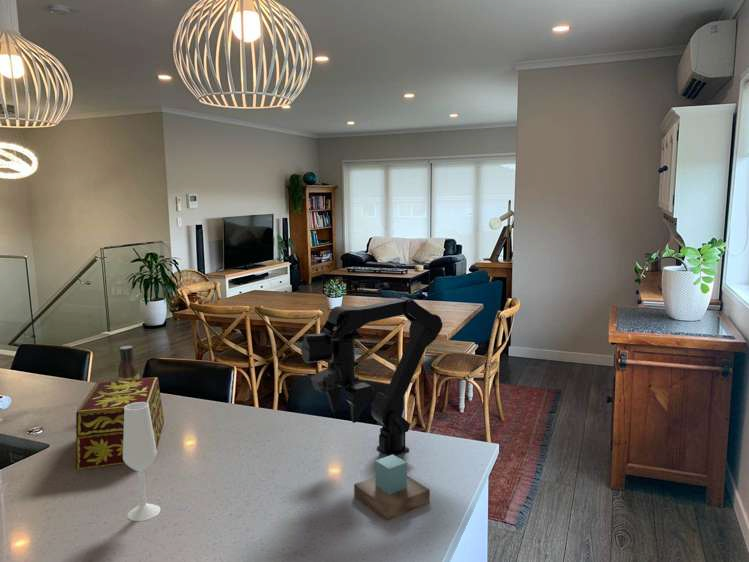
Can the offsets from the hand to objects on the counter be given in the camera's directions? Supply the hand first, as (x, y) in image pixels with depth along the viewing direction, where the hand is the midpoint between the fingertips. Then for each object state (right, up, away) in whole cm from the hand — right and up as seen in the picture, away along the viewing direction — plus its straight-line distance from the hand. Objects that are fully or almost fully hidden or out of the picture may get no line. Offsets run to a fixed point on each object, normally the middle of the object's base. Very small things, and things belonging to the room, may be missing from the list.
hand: (344, 416), depth 143 cm
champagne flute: (-42, -16, -21) cm, 50 cm away
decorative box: (-62, -11, +14) cm, 65 cm away
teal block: (+11, -11, -17) cm, 24 cm away
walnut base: (+11, -14, -17) cm, 25 cm away
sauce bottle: (-73, -7, +44) cm, 86 cm away
